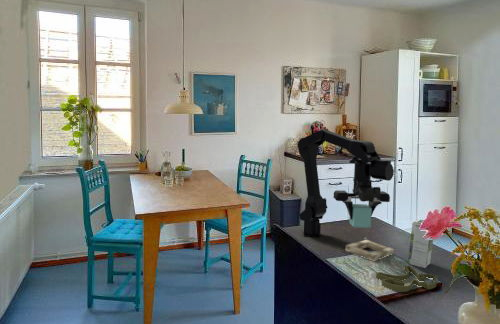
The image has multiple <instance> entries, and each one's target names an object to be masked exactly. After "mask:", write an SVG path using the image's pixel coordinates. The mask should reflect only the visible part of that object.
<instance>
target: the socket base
mask: <svg viewBox="0 0 500 324" xmlns="http://www.w3.org/2000/svg"><path fill="white" fill-rule="evenodd" d="M365 248H368V249H371V250H374V252H370V251H369V250H365ZM344 250H345V252H348V253H350V254H353V255H354V256H355V255H356V256H358V255H360V256H363V257H365V258H368V259H370V260H372V261H373V262H375V261H374V260H376V261H378V260H377V259H379V258H382V257H384V256H387V255H391V254H392V256H394V254H395V249H394V248H392V247H388V246H385V245H383V244H380V243H377V242H375V241H372V240H370V239H369V237H367V236H364V240H360V241H357V242H356V241H355V242H352V243H350V244H349V243H348V244H345V249H344ZM360 256H359V257H360ZM363 257H362V258H363ZM365 258H364V259H365ZM368 259H367V260H368ZM382 259H383V258H382ZM370 260H369V261H370ZM379 260H380V259H379ZM372 261H371V262H372Z"/></svg>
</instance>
